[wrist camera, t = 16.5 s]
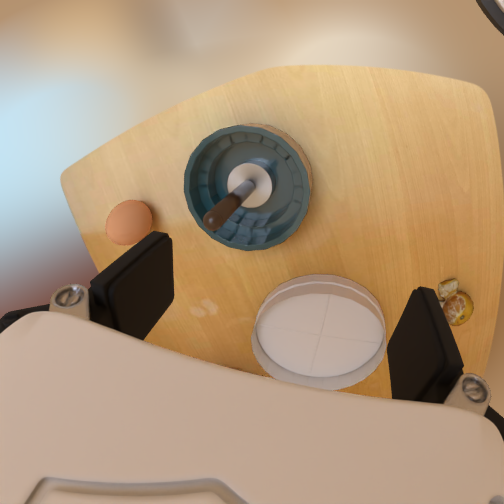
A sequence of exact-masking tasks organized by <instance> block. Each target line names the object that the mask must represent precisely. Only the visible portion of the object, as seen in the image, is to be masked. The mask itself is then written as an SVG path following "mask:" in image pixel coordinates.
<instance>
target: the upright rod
mask: <svg viewBox="0 0 504 504" xmlns="http://www.w3.org/2000/svg"><path fill="white" fill-rule="evenodd" d="M275 183H276V182H275V176H274V174H273V172H272V170H271V169H270V168H269V167H268V166H267V165H266V164H264V163H263V162H260V161H256V160H249V161H245V162H243V163H241V164H240V165H238V166H236V167H235V168H234V169H233V170H232V171H231V172H230V174H229V176H228V180H227V188H228V192H229V194H228V195H227V196H226V197H225V198H223V199H222V200H221V201H220V202H219V203H218V204H216V205H215V206H214V207H213V208H212V209H211V210H210V211H208V212H207V213H206V214H205V216H204V218H203V224H204V226H205V227H206V228H207V229H208V230H211V231H215V230H218V229H219V228H220V227H221V226H222V225H223V224H224V223H225V222H226V221H227V220H228V219H229V218H230V217H231V215H232V214H233V213H234V212H235V211H236V210H237V209H238V208H239V207H240V206H243V207H247V208H256V207H259V206H261V205H263V204H264V203H266V202H267V201H268V199H269V198H270V196H271V195H272V194H273V192H274V189H275Z"/></svg>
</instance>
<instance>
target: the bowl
mask: <svg viewBox="0 0 504 504" xmlns="http://www.w3.org/2000/svg"><path fill="white" fill-rule="evenodd" d="M249 160H256V161H260V162H263V163H264V164H266V165H267V166H268V167H269V168H270V169H271V170H272V172H273V174H274V176H275V182H276V183H275V189H274V192H273V194H272V195H271V196H270V198H269V199H268V201H267V202H266V203H264V204H263V205H261V206H259V207H256V208H247V207H243V206H240V207H239V208H238V209H237V210H236V211H235V212H234V213H233V214H232V215H231V217H230V218H229V219H228V220H227V221H226V222H225V223H224V224H223V225H222V226H221V227H220V228H219V229H218V230H215V231H211V230H208V229H207V228H206V227H205V226H204V224H203V218H204V216H205V214H206V213H207V212H208V211H210V210H211V209H212V208H213V207H214V206H215V205H216V204H218V203H219V202H220V201H221V200H222V199H223V198H225V197H226V196H227V195H228V194H229V192H228V188H227V180H228V176H229V174H230V172H231V171H232V170H233V169H234V168H235V167H236V166H238V165H240V164H241V163H243V162H245V161H249ZM312 185H313V180H312V173H311V167H310V163H309V161H308V159H307V157H306V156H305V154H304V152H303V150H302V148H301V147H300V146H299V145H298V144H297V143H296V142H295V141H294V140H293V139H292V138H291V137H290V136H289V135H288V134H286V133H284V132H282V131H280V130H278V129H276V128H274V127H272V126H269V125H262V124H253V123H249V124H243V125H237V126H232V127H228V128H223V129H220V130H218V131H216V132H215V133H213V134H211V135H210V136H208V137H207V138H205V139H203V140H202V141H201V143H200V144H199V145H198V146H197V148H196V149H195V150H194V151H193V153H192V154H191V156H190V158H189V161H188V164H187V167H186V170H185V173H184V194H185V197H186V201H187V205H188V209H189V211H190V212H191V214H192V216H193V217H194V219H195V221H196V222H197V224H198V225H199V227H201V228H202V229H203V230H204V231H205V232H206V233H207V234H208V235H209V236H210V237H211V238H213V239H214V240H216V241H218V242H220V243H222V244H224V245H226V246H228V247H231V248H235V249H240V250H245V251H253V250H264V249H268V248H270V247H272V246H275V245H277V244H280V243H282V242H284V241H285V240H286V239H287V238H288V237H290V236H291V235H292V234H293V233H294V232H295V231H296V230H297V229H298V228H299V226H300V224H301V222H302V221H303V219H304V217H305V215H306V214H307V210H308V206H309V202H310V196H311V191H312Z"/></svg>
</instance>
